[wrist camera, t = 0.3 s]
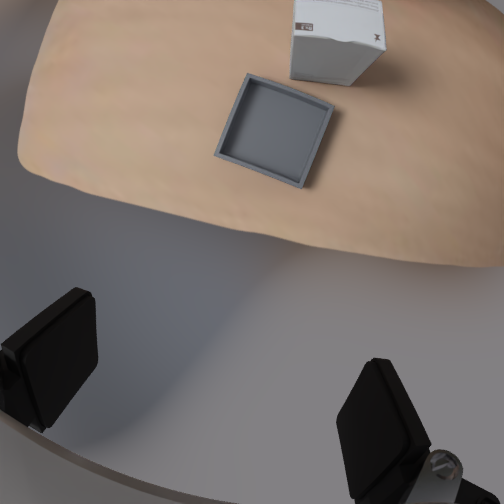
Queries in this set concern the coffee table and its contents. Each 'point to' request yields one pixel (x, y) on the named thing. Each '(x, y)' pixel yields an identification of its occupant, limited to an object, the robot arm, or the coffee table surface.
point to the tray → (274, 130)
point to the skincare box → (335, 39)
